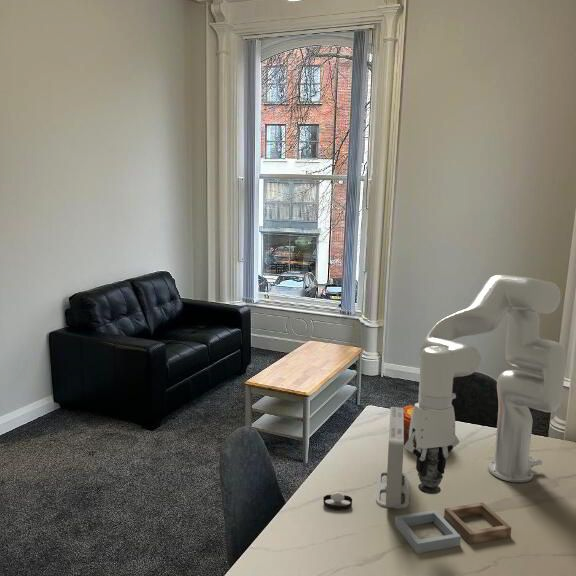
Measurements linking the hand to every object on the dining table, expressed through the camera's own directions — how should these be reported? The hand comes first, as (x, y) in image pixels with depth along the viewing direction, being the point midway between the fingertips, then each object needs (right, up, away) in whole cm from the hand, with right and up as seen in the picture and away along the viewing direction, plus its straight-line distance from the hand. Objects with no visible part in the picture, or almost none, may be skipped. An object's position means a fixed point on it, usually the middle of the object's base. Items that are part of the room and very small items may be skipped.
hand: (430, 471), depth 131 cm
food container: (+11, -8, +54) cm, 55 cm away
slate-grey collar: (0, -16, +3) cm, 17 cm away
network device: (-5, -13, +24) cm, 27 cm away
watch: (-21, -15, +15) cm, 30 cm away
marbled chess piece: (0, -4, +1) cm, 5 cm away
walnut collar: (+13, -16, +7) cm, 22 cm away
